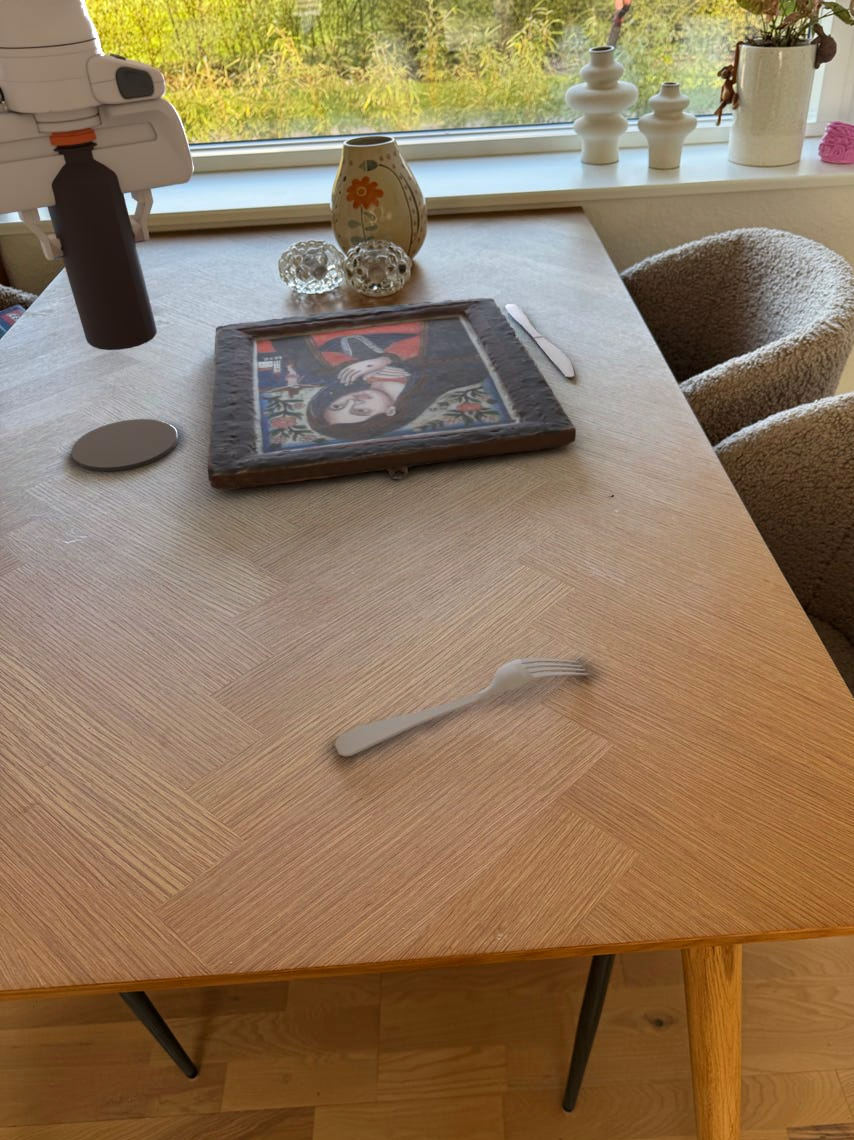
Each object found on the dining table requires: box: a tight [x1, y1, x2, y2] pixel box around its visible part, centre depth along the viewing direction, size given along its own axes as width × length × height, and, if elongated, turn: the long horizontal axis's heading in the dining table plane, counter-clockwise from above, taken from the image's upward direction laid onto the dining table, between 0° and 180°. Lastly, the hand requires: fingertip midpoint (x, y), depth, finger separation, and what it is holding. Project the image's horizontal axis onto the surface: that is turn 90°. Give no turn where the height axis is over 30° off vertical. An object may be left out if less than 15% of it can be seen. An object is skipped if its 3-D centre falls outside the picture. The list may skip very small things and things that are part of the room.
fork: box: [334, 657, 590, 757], centre depth 74 cm, size 3×21×3 cm, turn 114°
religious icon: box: [207, 297, 577, 491], centre depth 119 cm, size 40×45×3 cm
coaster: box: [71, 418, 179, 472], centre depth 111 cm, size 12×12×1 cm
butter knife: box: [504, 303, 575, 378], centre depth 131 cm, size 1×27×3 cm
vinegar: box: [47, 128, 158, 351], centre depth 89 cm, size 7×7×20 cm
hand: (98, 249), depth 90 cm, fingers closed on vinegar, 6 cm apart
